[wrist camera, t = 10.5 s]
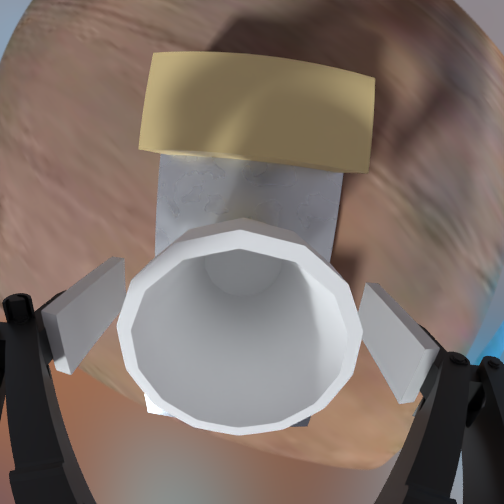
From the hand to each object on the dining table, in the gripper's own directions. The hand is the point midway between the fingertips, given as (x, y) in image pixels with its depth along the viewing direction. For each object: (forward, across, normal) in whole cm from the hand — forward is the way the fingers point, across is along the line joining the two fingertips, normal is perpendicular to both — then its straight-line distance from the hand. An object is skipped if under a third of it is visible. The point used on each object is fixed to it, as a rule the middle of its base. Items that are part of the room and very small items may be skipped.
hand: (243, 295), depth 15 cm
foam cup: (+8, 0, 0) cm, 8 cm away
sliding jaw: (+8, 0, +10) cm, 13 cm away
